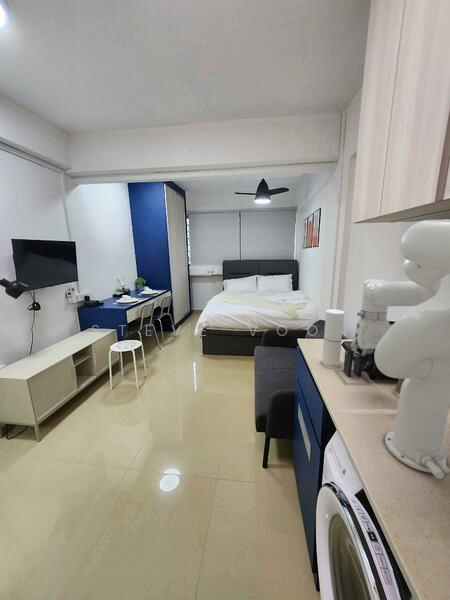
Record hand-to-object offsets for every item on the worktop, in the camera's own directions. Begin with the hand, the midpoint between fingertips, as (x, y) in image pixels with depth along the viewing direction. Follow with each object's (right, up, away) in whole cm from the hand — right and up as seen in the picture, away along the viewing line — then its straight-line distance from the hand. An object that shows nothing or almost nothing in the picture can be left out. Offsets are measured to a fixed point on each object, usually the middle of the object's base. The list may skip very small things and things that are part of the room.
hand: (368, 364), depth 86 cm
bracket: (+1, -9, +12) cm, 15 cm away
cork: (+13, -11, 0) cm, 17 cm away
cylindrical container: (-3, -6, +23) cm, 24 cm away
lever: (0, +1, +5) cm, 5 cm away
